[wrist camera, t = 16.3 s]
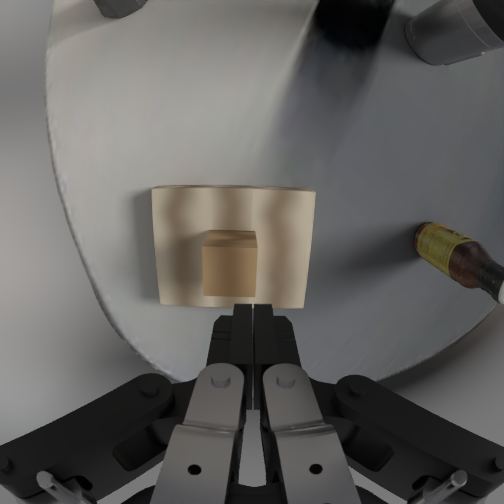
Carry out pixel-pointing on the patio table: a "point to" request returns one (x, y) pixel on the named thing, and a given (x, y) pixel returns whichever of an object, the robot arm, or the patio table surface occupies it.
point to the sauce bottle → (460, 259)
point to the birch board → (233, 218)
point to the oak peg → (229, 263)
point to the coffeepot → (118, 7)
